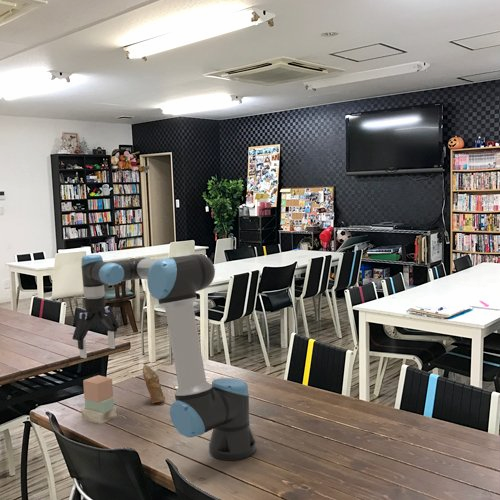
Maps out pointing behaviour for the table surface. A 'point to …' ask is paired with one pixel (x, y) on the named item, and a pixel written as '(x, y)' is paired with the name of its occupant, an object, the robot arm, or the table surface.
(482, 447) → the table surface
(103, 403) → the block top
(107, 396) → the terracotta block
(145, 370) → the figurine
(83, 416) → the block base
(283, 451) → the table surface
